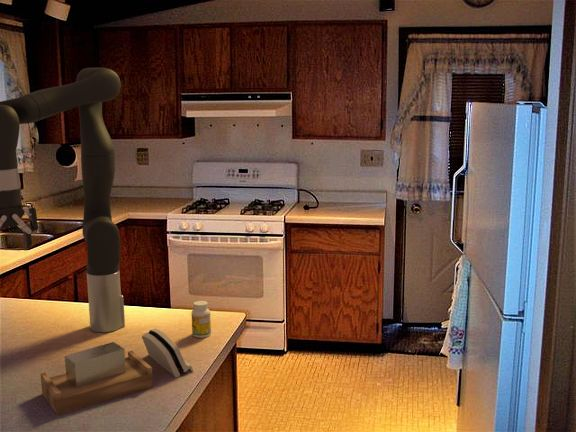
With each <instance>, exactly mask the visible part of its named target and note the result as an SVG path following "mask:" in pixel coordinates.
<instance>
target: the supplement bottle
mask: <svg viewBox="0 0 576 432" xmlns="http://www.w3.org/2000/svg"><path fill="white" fill-rule="evenodd" d="M208 306H209V303H208V301H206V300H197V301H194V302H193V310H192V311H191V334H192V337H194V338H199V339H204V338H207V337H209V336H210V335H211V333H212V326H211V325H212V322H211V321H212V320H211V318H212V317H211V310H210V309H209V307H208Z"/></svg>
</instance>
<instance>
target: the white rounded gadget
mask: <svg viewBox="0 0 576 432" xmlns="http://www.w3.org/2000/svg"><path fill="white" fill-rule="evenodd" d="M141 340H142V342H143V344H144V346H145V348H146V351H147V353H148V356H150V357H151V358H152V359H153V360H154V359H155V360H154V361H156V362H157V363H158V364H159V365H160V366H161V367H163V368H164V369H165V370H166V371H168V372H169V373H170V374H171V375H173V377H175V378H178V377H180V376H181V374H182V373H186V372H187V371H190V372H191V373H194V369H193V366H192V365H190V364H189V363H188V362H186V360H184V358H183V355H182V353H181V351H180V349H179V347H178V345H177V344H176V343H175V342H174V341H173V340H172V339H171V338H170V336H168V335H167V334H166V333H164V331H161V330H160V329H157V328H152V329H149V330H148V332H145V333H143V334H142V335H141ZM188 369H189V370H188ZM181 372H182V373H181Z"/></svg>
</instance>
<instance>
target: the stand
mask: <svg viewBox="0 0 576 432" xmlns="http://www.w3.org/2000/svg"><path fill="white" fill-rule="evenodd" d="M127 354H128V355H127V357H125V369H126V373H123V374H120V375H117V376H114V377H111V378H108V379H104V380H101V381H98V382H95V383H92V384H89V385H86V386H83V387H80V388H75V387H74V386H73V385H72V384H70V383H69V382H68V381H67V380H66V372H65V373H63V374H59V375H54V376H51V377H49V375H48V374H47V373H46V372H43V373H40V381H41V383H40V384H41V393H42V396H43V397H44V398H45V400H46V401H47V402H48V404H49V405H50V407H51V408H52V410H53V411H54V413H55V414H56V415H57V416H60V415H63V414H67V413H70V412H73V411H74V412H75V411H76V410H80V409H84V408H87V407H90V406H93V405H97V404H101V403H104V402H108V401H111V400H113V399H118V398H120V397H121V398H122V397H124V396H127V395H128V396H129V395H130V394H133V393H137V392H141V391H143V390H144V391H145V390H147V389H151V388H153V387H154V384H153V367H152V366H151V365H150V364H148V363H147V362H146V361H145V360H144V359H142V358H141V357H140V356H139V355H138V354H136V353H135V352H134V351H133V350H129V351H127Z"/></svg>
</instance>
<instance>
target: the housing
mask: <svg viewBox="0 0 576 432" xmlns="http://www.w3.org/2000/svg"><path fill="white" fill-rule="evenodd" d="M125 352H126V351H125V348H124V347H122V346H121V345H120V344H117V343H116V342H115V341H112V342H108V343H105V344H102V345H101V344H100V345H98V346H94V347H90V348H87V349H84V350H80V351H76V352H74V353H70V354H67V355H64V363H65V364H64V366H65V373H66V380H67V381H68V382H69V383H70V384H72V385H73V386H74V387H75V388H80V387H83V386H86V385H89V384H92V383H95V382H98V381H101V380H104V379H108V378H111V377H114V376H117V375H120V374H123V373H126V369H125V358H126V356H125V354H126V353H125Z"/></svg>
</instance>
